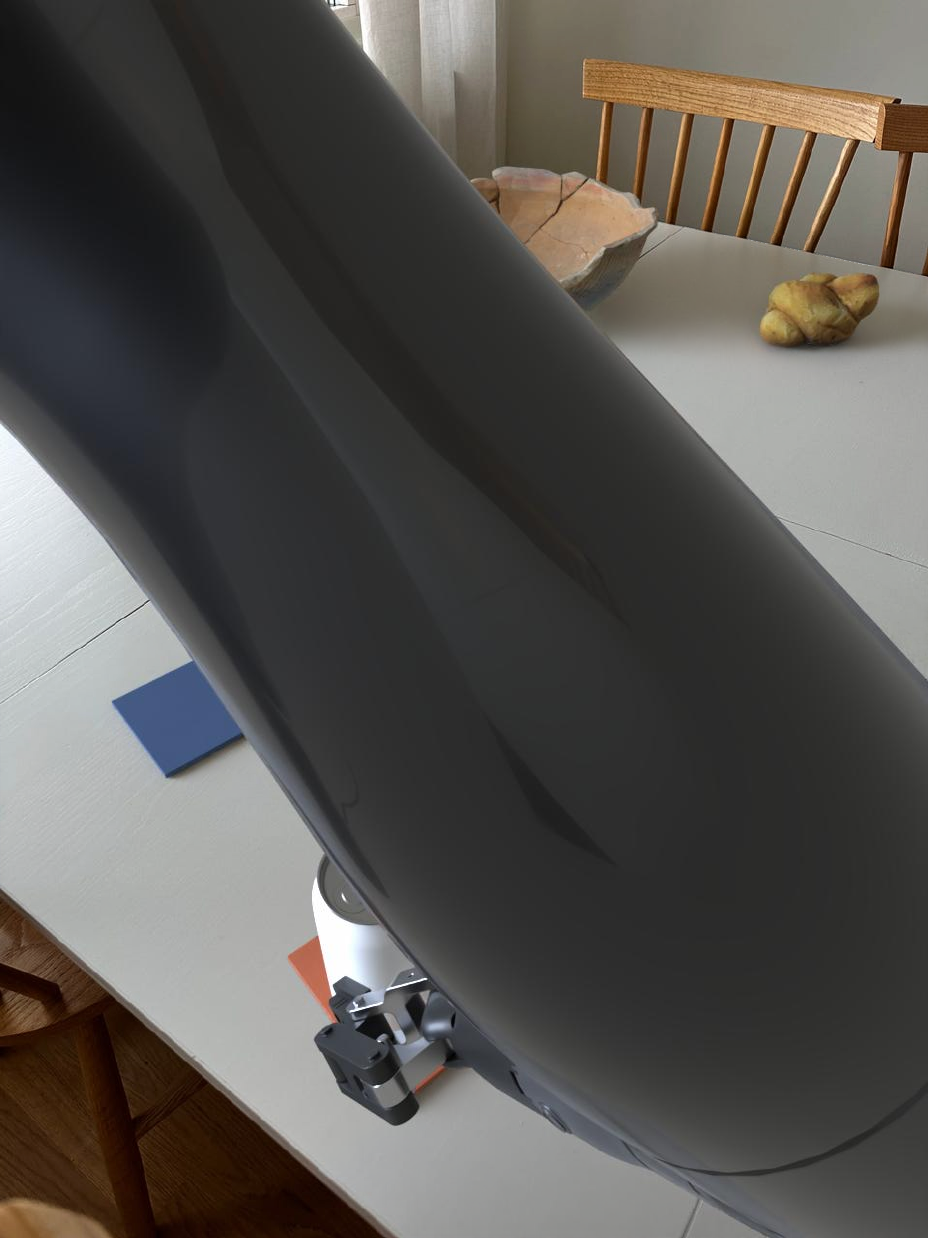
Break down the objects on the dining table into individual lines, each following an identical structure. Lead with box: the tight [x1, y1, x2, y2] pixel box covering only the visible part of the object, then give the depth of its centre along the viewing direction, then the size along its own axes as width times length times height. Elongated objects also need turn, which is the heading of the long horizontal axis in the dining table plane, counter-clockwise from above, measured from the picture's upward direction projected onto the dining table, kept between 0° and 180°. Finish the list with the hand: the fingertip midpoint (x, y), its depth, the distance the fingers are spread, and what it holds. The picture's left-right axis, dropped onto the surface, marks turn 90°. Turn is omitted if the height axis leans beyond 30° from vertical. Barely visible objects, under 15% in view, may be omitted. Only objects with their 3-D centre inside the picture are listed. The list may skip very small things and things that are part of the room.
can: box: [311, 852, 430, 1031], centre depth 52 cm, size 6×6×12 cm
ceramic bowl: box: [469, 166, 660, 313], centre depth 118 cm, size 30×27×15 cm
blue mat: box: [111, 660, 245, 779], centre depth 73 cm, size 12×9×1 cm
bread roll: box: [758, 271, 880, 349], centre depth 113 cm, size 13×10×8 cm
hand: (421, 945), depth 47 cm, fingers open, 8 cm apart
